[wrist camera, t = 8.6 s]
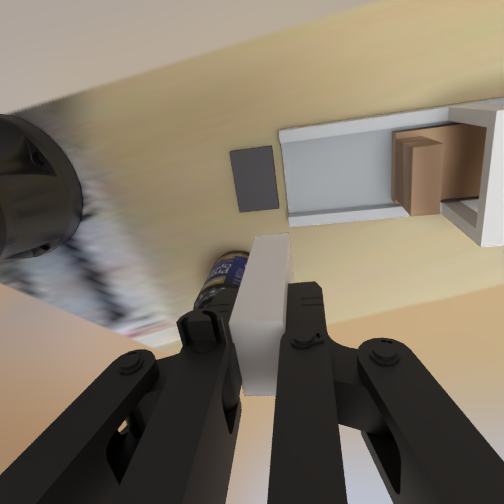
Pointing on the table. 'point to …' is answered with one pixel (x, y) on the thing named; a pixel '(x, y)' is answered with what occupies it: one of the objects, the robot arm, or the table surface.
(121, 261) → the table surface
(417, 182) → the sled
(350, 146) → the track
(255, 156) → the dark grey flat block
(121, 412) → the robot arm
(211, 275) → the pill bottle
